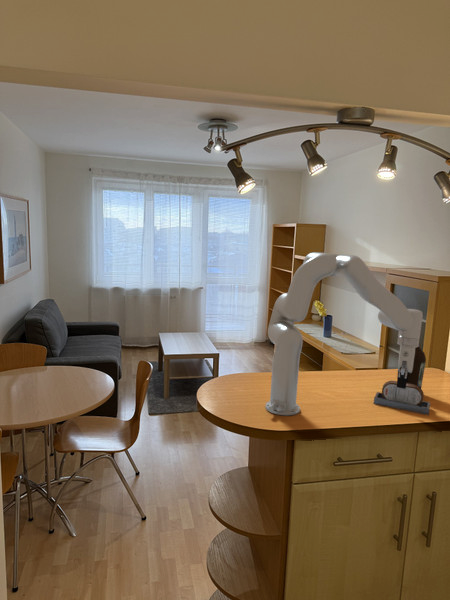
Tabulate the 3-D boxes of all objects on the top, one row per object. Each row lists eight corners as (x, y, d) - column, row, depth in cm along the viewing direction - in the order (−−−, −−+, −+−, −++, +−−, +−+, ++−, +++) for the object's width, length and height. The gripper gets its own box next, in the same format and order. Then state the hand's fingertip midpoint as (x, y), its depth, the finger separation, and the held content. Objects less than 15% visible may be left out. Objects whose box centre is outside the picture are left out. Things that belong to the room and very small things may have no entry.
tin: (422, 406, 164) (425, 385, 163) (422, 409, 162) (424, 388, 160) (381, 398, 171) (383, 378, 170) (380, 400, 168) (382, 380, 167)
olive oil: (392, 393, 180) (399, 335, 177) (396, 387, 189) (403, 331, 186) (420, 399, 175) (427, 340, 172) (423, 392, 184) (429, 335, 181)
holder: (428, 415, 159) (429, 408, 159) (373, 403, 168) (374, 397, 168) (429, 408, 166) (430, 402, 165) (376, 397, 175) (377, 391, 174)
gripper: (417, 347, 154) (411, 392, 156) (420, 339, 169) (414, 380, 171) (395, 343, 157) (389, 388, 160) (400, 336, 173) (394, 377, 175)
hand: (402, 384), depth 166 cm, fingers open, 9 cm apart
